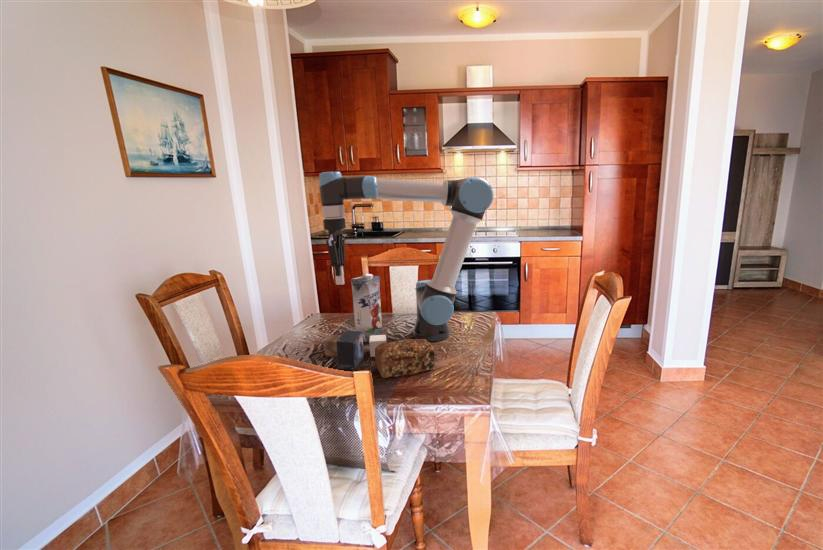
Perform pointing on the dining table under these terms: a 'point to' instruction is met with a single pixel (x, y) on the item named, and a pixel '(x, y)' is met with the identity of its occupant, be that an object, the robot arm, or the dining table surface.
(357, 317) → the juice carton
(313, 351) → the dining table surface
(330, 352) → the walnut block
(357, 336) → the small box
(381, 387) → the dining table surface
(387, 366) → the bread
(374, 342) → the cream block
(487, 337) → the dining table surface
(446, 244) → the robot arm
